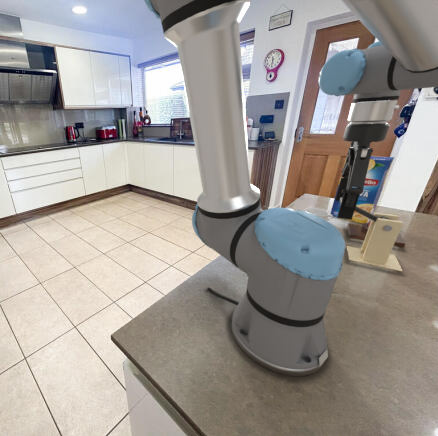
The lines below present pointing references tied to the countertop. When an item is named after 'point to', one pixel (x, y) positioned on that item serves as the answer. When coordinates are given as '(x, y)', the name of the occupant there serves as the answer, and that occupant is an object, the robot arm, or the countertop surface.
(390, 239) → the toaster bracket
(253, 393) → the countertop surface
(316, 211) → the teacup
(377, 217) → the lever
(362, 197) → the beverage box
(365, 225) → the control block
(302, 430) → the countertop surface
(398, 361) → the countertop surface
